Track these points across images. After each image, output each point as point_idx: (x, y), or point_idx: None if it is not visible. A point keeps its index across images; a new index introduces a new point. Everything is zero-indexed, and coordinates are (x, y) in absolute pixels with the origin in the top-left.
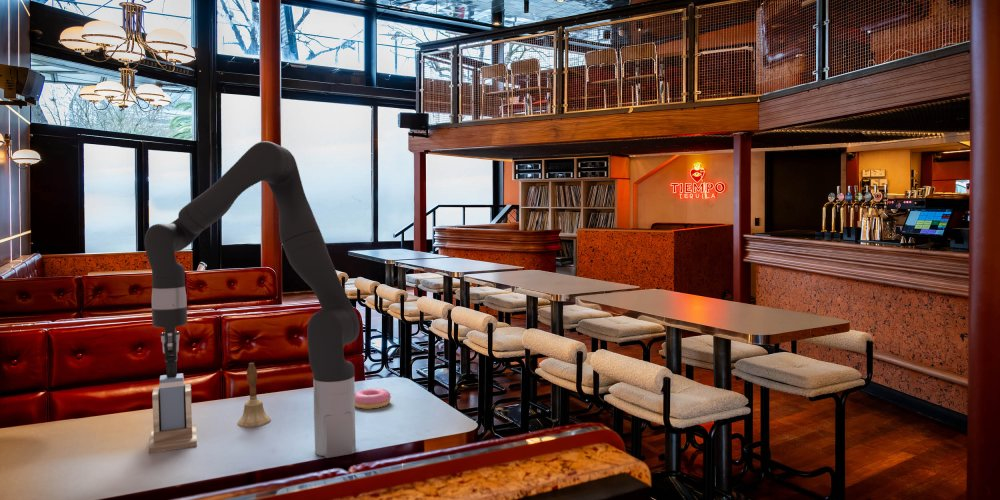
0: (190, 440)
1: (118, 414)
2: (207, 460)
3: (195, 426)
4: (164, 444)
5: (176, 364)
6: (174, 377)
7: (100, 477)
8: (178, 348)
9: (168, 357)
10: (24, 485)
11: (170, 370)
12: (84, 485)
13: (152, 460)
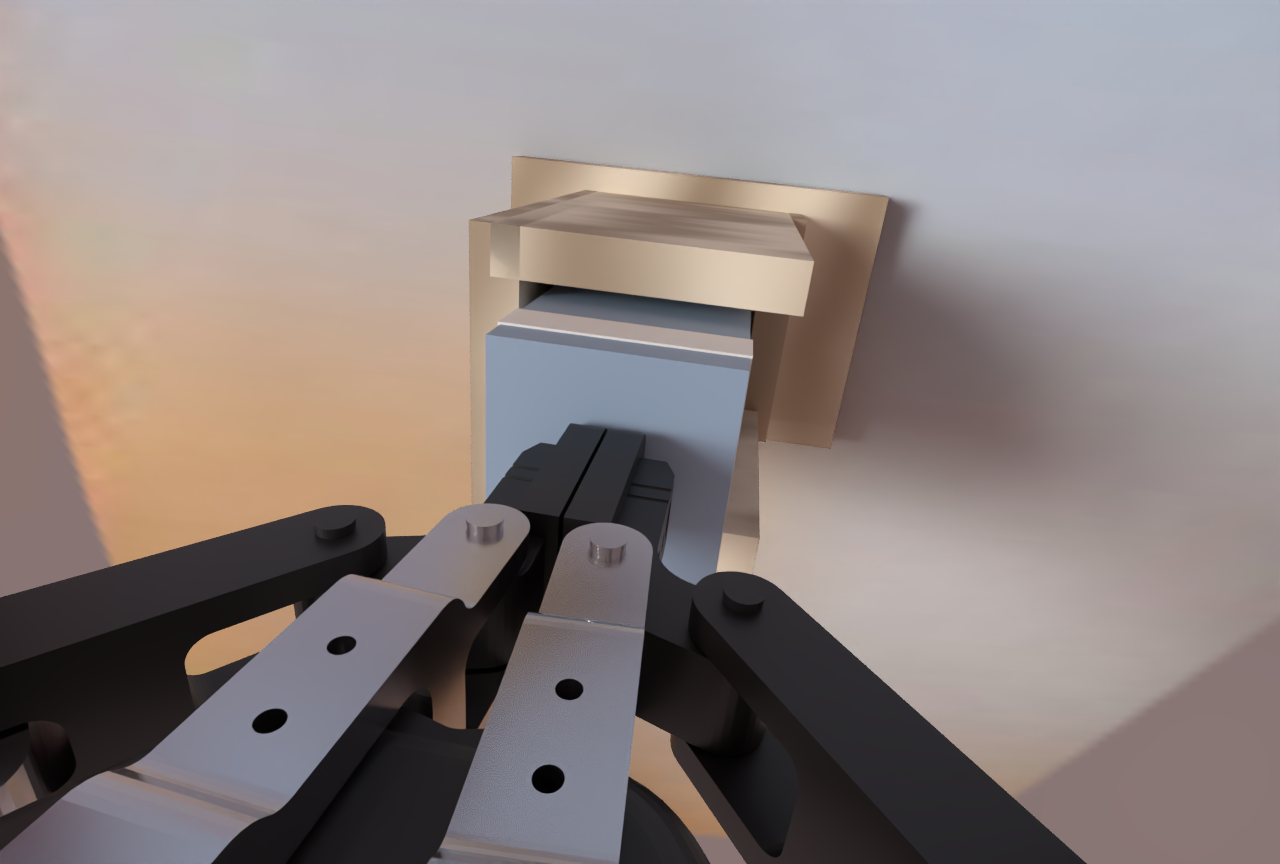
0: (850, 232)
1: (99, 486)
2: (1226, 169)
3: (561, 164)
4: (825, 374)
5: (547, 482)
6: (671, 452)
7: (1030, 635)
8: (636, 674)
9: (758, 731)
10: None
11: (663, 539)
12: (1084, 687)
13: (962, 436)
